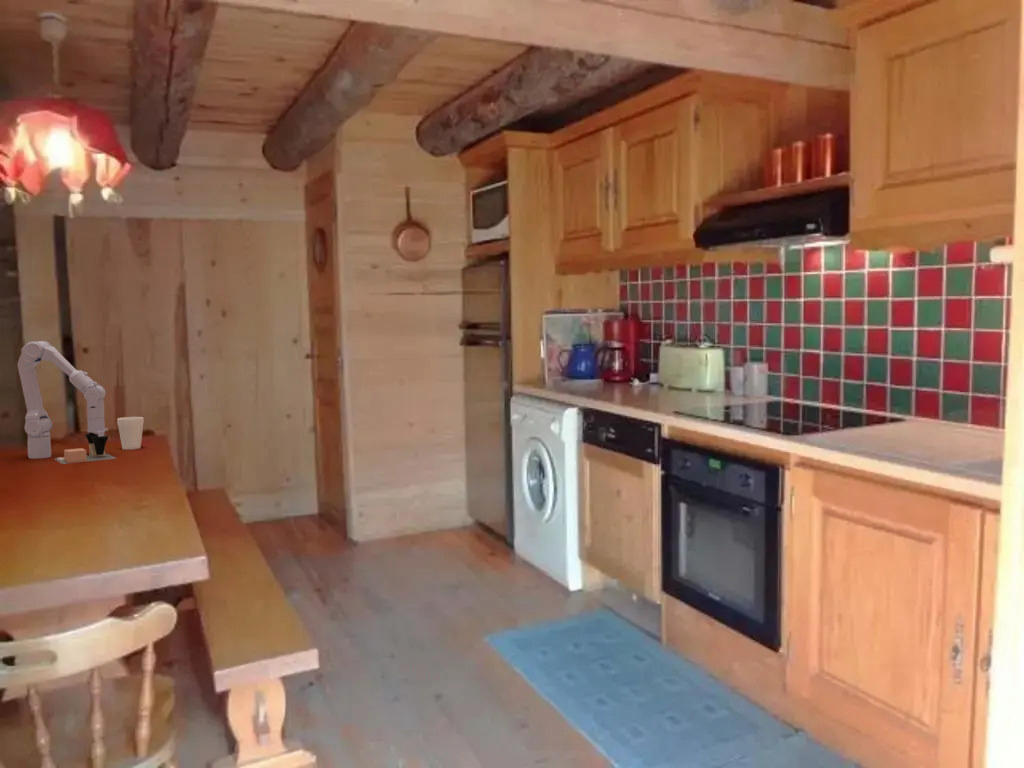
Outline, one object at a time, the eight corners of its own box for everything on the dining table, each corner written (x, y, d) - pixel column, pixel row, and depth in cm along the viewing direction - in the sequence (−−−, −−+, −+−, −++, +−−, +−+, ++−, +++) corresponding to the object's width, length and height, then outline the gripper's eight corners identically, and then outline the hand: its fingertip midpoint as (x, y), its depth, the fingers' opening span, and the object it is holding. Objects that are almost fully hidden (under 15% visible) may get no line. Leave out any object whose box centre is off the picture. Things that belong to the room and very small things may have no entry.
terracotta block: (64, 460, 289) (63, 449, 289) (82, 458, 293) (82, 448, 293) (68, 463, 285) (67, 451, 284) (86, 461, 289) (86, 450, 288)
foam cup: (120, 449, 321) (119, 417, 320) (145, 448, 324) (144, 416, 323) (116, 453, 312) (115, 420, 311) (142, 451, 315) (141, 419, 314)
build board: (53, 461, 294) (53, 458, 294) (106, 455, 305) (106, 453, 305) (62, 466, 283) (62, 463, 283) (117, 460, 295) (116, 458, 295)
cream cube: (89, 455, 301) (88, 443, 300) (102, 454, 304) (101, 442, 303) (92, 456, 297) (91, 445, 297) (105, 455, 300) (104, 444, 300)
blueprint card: (56, 458, 294) (56, 457, 294) (77, 456, 299) (77, 455, 299) (60, 460, 290) (60, 459, 290) (81, 458, 294) (81, 457, 294)
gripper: (112, 418, 296) (114, 454, 298) (102, 415, 307) (103, 449, 308) (91, 420, 292) (93, 456, 293) (82, 416, 303) (83, 451, 304)
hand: (97, 453), depth 300 cm, fingers open, 7 cm apart
